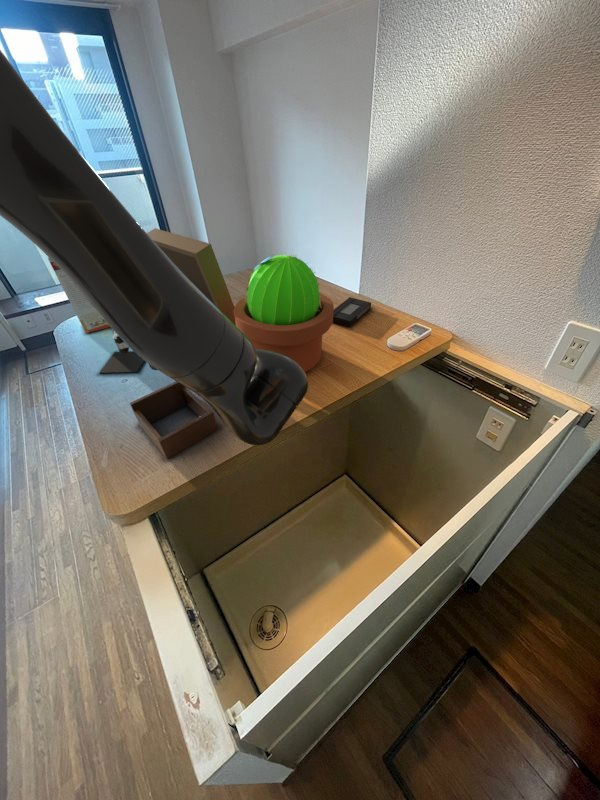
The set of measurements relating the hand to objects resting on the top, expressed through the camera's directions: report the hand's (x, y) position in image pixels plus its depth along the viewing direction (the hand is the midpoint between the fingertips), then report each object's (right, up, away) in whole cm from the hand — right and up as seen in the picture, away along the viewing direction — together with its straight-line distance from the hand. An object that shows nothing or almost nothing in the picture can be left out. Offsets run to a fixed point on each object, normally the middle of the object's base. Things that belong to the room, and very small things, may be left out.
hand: (132, 311), depth 55 cm
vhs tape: (+43, +11, +44) cm, 63 cm away
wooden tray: (+4, -20, +9) cm, 23 cm away
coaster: (-15, -6, +26) cm, 31 cm away
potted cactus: (+25, -4, +28) cm, 37 cm away
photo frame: (0, +4, +37) cm, 37 cm away
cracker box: (-28, +8, +42) cm, 51 cm away
